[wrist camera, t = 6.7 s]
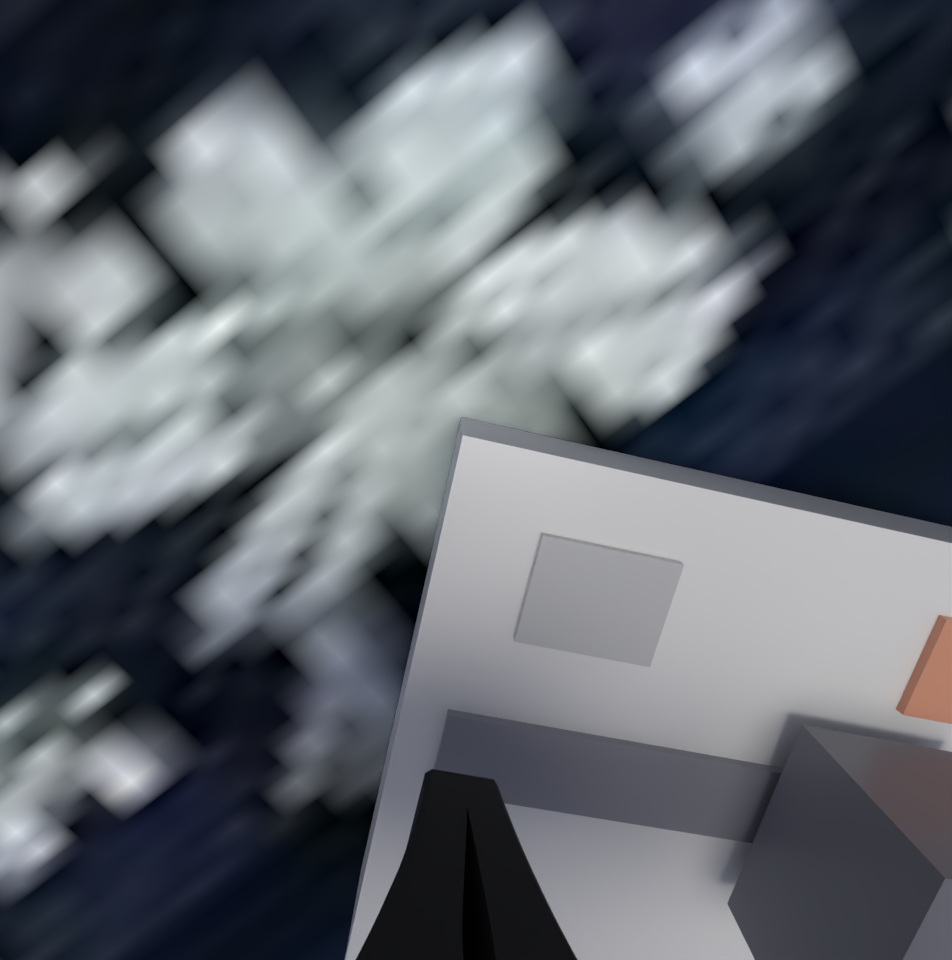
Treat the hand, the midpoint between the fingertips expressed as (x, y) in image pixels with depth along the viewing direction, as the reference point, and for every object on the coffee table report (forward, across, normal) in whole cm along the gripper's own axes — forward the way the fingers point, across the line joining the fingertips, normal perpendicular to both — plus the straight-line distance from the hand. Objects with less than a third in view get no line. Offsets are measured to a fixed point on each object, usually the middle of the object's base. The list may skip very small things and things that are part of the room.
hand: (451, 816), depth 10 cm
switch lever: (+1, -9, 0) cm, 9 cm away
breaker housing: (+5, -7, 0) cm, 8 cm away
